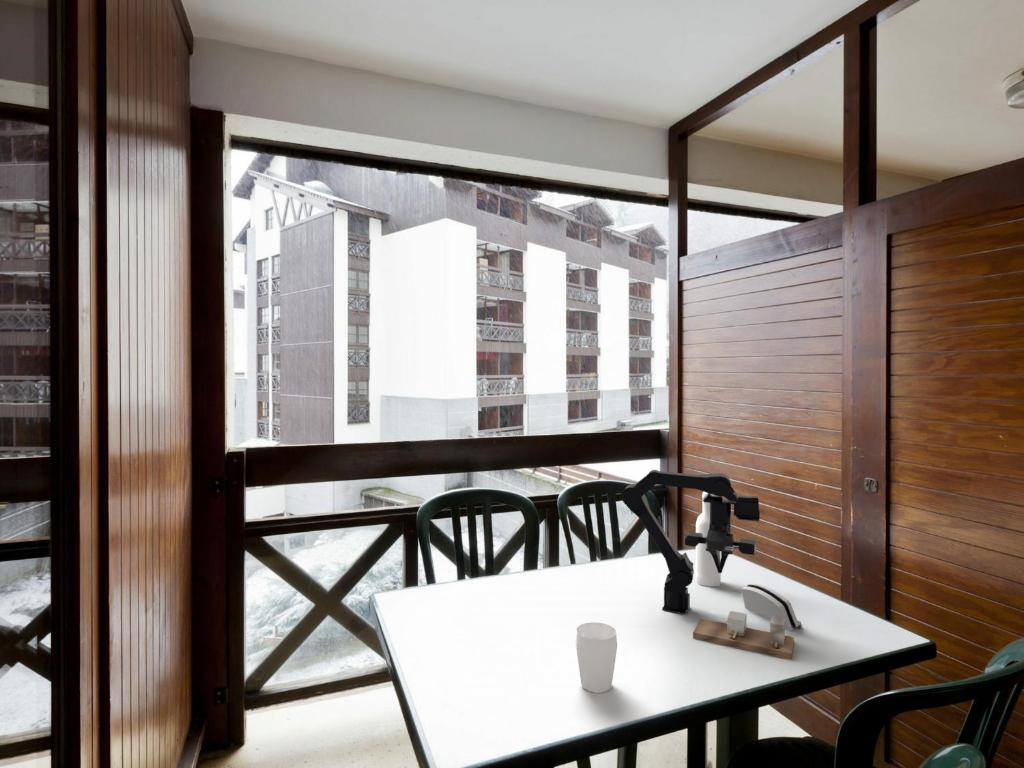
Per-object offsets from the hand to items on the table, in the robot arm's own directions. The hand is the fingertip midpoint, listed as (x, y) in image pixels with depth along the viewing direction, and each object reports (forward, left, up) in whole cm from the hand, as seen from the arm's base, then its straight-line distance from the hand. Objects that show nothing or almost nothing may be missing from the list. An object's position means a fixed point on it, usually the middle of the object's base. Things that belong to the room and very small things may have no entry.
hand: (720, 572), depth 162 cm
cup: (-17, -53, -12) cm, 57 cm away
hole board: (+8, -14, -12) cm, 20 cm away
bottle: (-8, +25, -12) cm, 29 cm away
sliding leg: (+6, -14, -10) cm, 19 cm away
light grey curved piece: (+13, +5, -12) cm, 18 cm away
